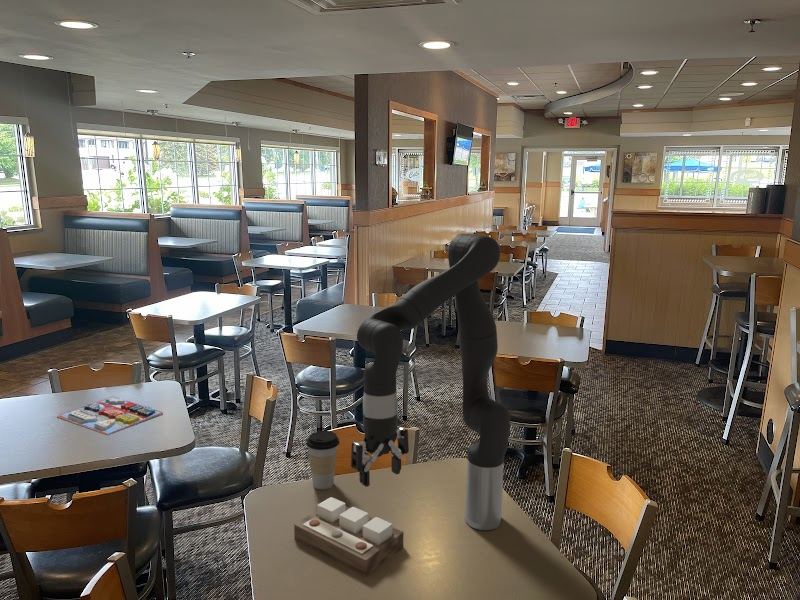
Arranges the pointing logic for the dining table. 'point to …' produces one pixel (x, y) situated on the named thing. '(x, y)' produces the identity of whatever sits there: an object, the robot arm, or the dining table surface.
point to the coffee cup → (323, 458)
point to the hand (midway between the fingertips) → (380, 479)
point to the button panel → (346, 543)
